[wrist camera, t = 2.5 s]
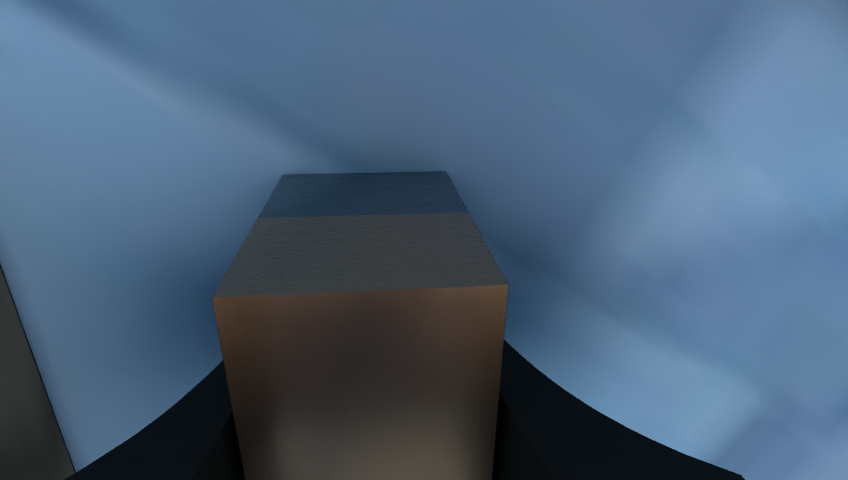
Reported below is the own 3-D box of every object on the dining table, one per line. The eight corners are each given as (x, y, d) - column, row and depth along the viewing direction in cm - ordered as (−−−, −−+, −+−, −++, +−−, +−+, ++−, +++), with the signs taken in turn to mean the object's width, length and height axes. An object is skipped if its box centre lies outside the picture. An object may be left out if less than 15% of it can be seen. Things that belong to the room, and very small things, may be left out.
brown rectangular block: (439, 419, 16) (479, 633, 10) (309, 428, 15) (277, 656, 10) (445, 171, 12) (508, 284, 7) (283, 174, 12) (211, 298, 7)
